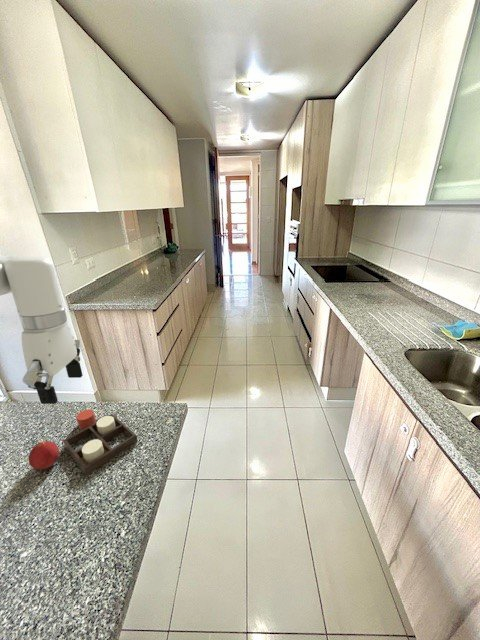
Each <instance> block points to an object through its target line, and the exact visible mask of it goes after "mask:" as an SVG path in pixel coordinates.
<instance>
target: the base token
mask: <svg viewBox="0 0 480 640" xmlns="http://www.w3.org/2000/svg"><path fill="white" fill-rule="evenodd" d="M81 448H82V454H83V457H84V461H85V464H86V465H88V464H90V463H91V462H93V461H94V460H96V459H97V458H99V457H100V456H102V455H104V454H105V453H104V448H103V445H102V441H101V440H98V439H90V440H89V441H87V442H86V443H85V444H83V446H82V447H81Z"/></svg>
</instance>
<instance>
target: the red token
mask: <svg viewBox="0 0 480 640" xmlns="http://www.w3.org/2000/svg"><path fill="white" fill-rule="evenodd" d="M75 418H76V421H77V425H78V428H79V429H80V430H83V429H85V428H87V427H89V426H91V425H93V424H94V423H96V422H97V419H96V416H95V411H94V410H93V409H84V410H82V411H80V412H78V413H77V415H76V417H75Z"/></svg>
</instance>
